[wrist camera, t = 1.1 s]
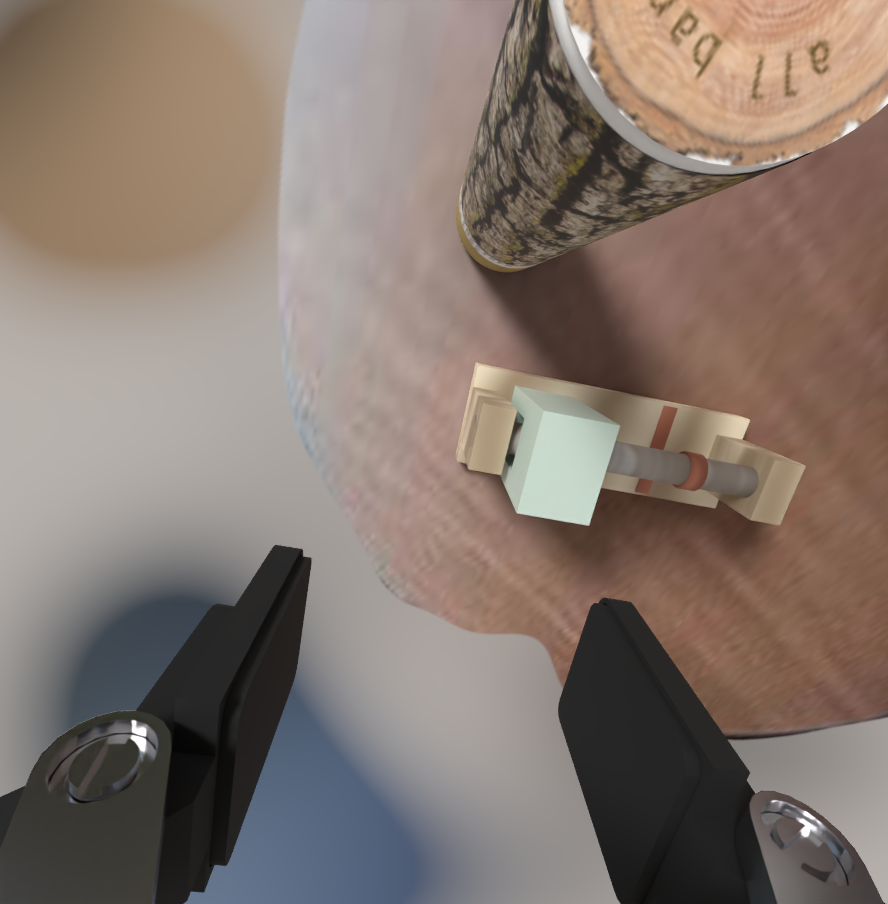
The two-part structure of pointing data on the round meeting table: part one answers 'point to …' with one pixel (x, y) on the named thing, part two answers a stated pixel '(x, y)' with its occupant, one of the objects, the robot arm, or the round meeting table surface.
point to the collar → (557, 456)
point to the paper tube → (655, 111)
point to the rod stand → (641, 445)
